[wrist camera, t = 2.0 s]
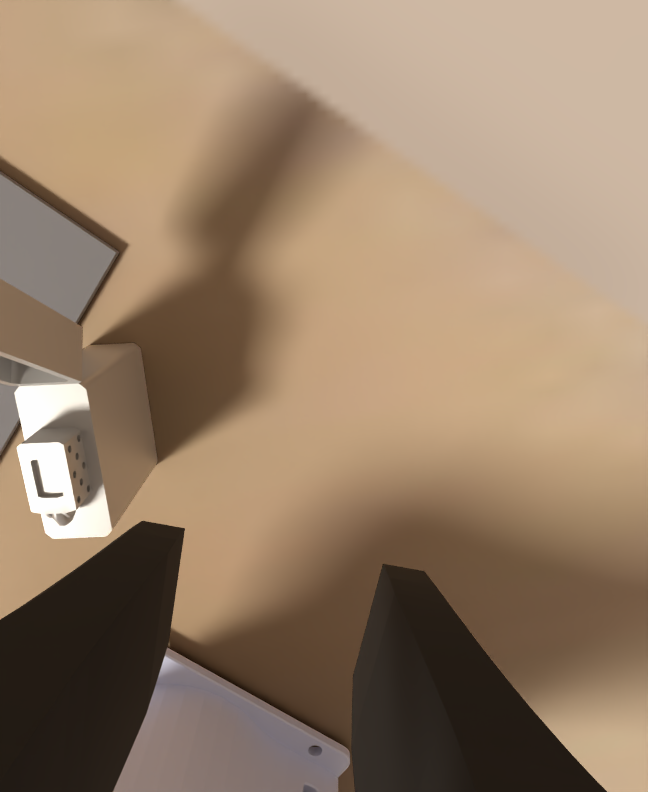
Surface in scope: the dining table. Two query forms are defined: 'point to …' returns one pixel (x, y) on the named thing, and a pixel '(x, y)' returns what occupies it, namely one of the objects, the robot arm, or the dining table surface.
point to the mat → (45, 266)
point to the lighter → (75, 418)
